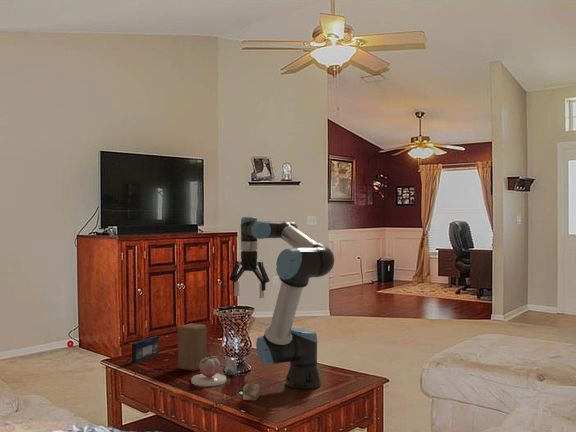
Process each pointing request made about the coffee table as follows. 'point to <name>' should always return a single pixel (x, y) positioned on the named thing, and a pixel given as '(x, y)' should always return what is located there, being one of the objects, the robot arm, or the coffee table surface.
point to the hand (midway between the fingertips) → (249, 296)
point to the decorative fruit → (209, 366)
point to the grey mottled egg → (230, 366)
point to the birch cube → (251, 391)
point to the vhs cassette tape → (145, 349)
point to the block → (191, 346)
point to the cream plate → (208, 380)
